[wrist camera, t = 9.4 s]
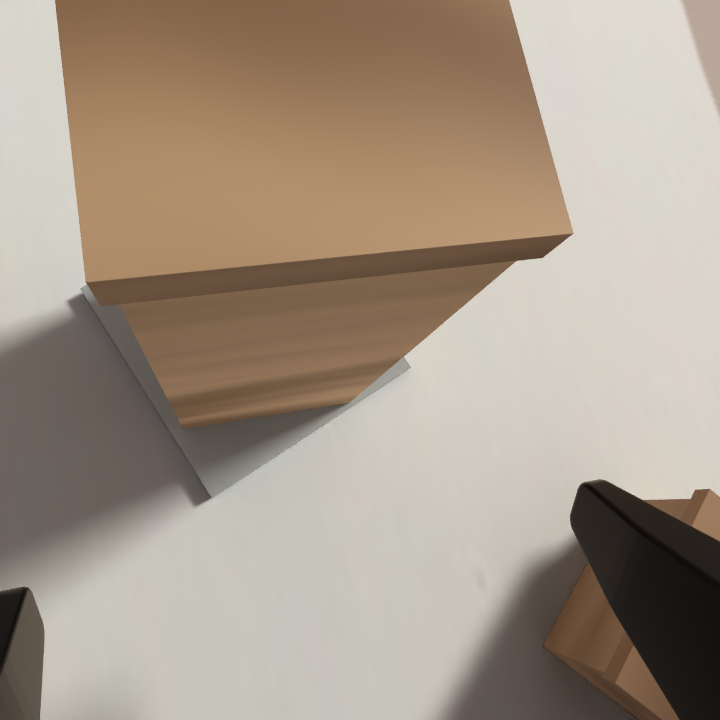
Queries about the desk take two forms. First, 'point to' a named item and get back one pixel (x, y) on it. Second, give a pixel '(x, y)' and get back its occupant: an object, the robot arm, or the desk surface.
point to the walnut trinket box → (606, 635)
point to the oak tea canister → (299, 184)
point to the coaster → (232, 439)
